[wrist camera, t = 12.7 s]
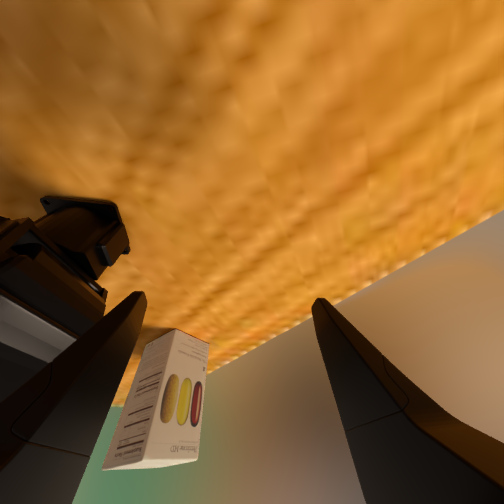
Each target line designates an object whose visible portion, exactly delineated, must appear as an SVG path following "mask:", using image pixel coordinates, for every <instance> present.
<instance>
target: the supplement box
mask: <svg viewBox="0 0 504 504" xmlns="http://www.w3.org/2000/svg"><path fill="white" fill-rule="evenodd" d="M208 351H209V344H208V343H205V342H203V341H201V340H199V339H197V338H195V337H192V336H190V335H188V334H186V333H184V332H182V331H180V330H177V329H174V330H172V331H170V332H168V333H167V334H165V335H163V336H161V337H159V338H157V339H155V340H154V341H152V342H150V343H148V344H146V346H145V349H144V352H143V354H142V357H141V360H140V363H139V366H138V368H137V371H136V374H135V377H134V380H133V382H132V385H131V388H130V391H129V394H128V396H127V399H126V401H125V404H124V407H123V410H122V413H121V416H120V419H119V421H118V424H117V427H116V430H115V433H114V435H113V438H112V441H111V444H110V447H109V449H108V452H107V455H106V458H105V460H104V463H103V466H102V470H112V469H113V470H114V469H141V468H159V467H165V466H171V465H176V464H181V463H186V462H192V461H195V460H197V459H198V452H199V440H200V431H201V430H200V429H201V420H202V410H203V401H204V391H205V381H206V371H207V361H208Z"/></svg>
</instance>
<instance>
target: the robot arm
mask: <svg viewBox="0 0 504 504" xmlns="http://www.w3.org/2000/svg"><path fill="white" fill-rule="evenodd" d="M48 201H49V202H50V203H49V202H48ZM40 202H41V203H42V205H43V207H44V209H45V211H46V212H47V214H46V215H45V216H43V217H41V218H40V219H38V220H36V221H35V222H33V221H32V220H31V219H30V218H29V217H27V218H22V219H16V220H11V219H10V218H5V217H2V216H0V504H72V502H73V499H74V497H75V494H76V492H77V489H78V487H79V484H80V482H81V479H82V477H83V474H84V472H85V469H86V467H87V464H88V462H89V459H90V456H91V454H92V451H93V449H94V446H95V444H96V442H97V439H98V437H99V434H100V431H101V429H102V427H103V424H104V422H105V419H106V417H107V414H108V412H109V409H110V407H111V404H112V402H113V399H114V397H115V394H116V392H117V389H118V387H119V384H120V382H121V379H122V377H123V374H124V372H125V369H126V367H127V364H128V362H129V359H130V357H131V354H132V352H133V349H134V347H135V344H136V342H137V339H138V336H139V333H140V330H141V326H142V322H143V319H144V315H145V311H146V308H147V299H146V296H145V293H144V292H143V291H134V292H132V293H131V294H130V295H129V296H128V297H126V298H125V299H124V300H123V301H122V302H121V303H119V304H118V305H117V306H116V307H115V308H113V309H112V310H111V311H110V312H109V313H108V314H106V315H105V316H103V315H104V311H105V307H106V305H105V302H106V298H107V293H108V291H107V290H106V289H105V288H102V287H101V286H100V285H99V284H97V283H96V282H95V281H94V280H98V278H99V277H100V276H101V274H102V273H103V272H104V270H105V269H106V268H107V266H110V267H111V266H112V265H113V264H114V263H115V262H116V260H117V259H118V258H119V256H120V255H121V254H129V252H130V247H129V239H128V236H127V232H126V229H125V225H124V224H123V223H122V220H121V217H120V213H119V210H118V207H117V206H116V205H115V204H113V203H107V202H98V201H89V200H80V199H71V198H62V197H53V196H44V197H42V198H40ZM110 207H112V208H113V210H112V209H111V208H110ZM125 250H126V251H125ZM312 315H313V321H314V326H315V331H316V336H317V340H318V343H319V347H320V350H321V353H322V357H323V360H324V363H325V366H326V370H327V373H328V377H329V380H330V384H331V387H332V390H333V394H334V397H335V400H336V404H337V407H338V410H339V414H340V417H341V421H342V424H343V427H344V431H345V435H346V438H347V441H348V445H349V448H350V452H351V455H352V458H353V461H354V465H355V468H356V472H357V475H358V479H359V482H360V485H361V489H362V492H363V495H364V498H365V501H366V504H504V443H502V442H500V441H498V440H496V439H494V438H492V437H490V436H488V435H486V434H484V433H482V432H481V431H479V430H476V429H474V428H473V427H470V426H469V425H467V424H465V423H463V422H461V421H460V420H458V419H457V418H455V417H453V416H452V415H451V414H449V413H448V412H447V411H445V410H444V409H443V408H442V407H440V406H439V405H438V404H437V403H436V402H435V401H434V400H432V399H431V398H430V397H429V396H428V395H427V394H426V393H424V392H423V391H422V390H421V389H420V388H419V387H418V386H416V385H415V384H414V383H413V382H412V381H411V380H409V379H408V378H407V377H406V376H405V375H404V374H403V373H402V372H401V371H400V370H398V369H397V368H396V367H395V366H394V365H393V364H392V363H391V362H390V361H389V360H388V359H387V358H386V357H385V356H384V355H382V353H381V352H380V351H379V350H378V349H377V348H376V347H375V346H373V345H372V344H371V343H370V342H369V341H368V340H367V339H366V338H365V337H364V336H363V335H362V334H361V333H360V332H359V331H358V330H357V329H356V328H355V327H354V326H353V325H352V324H351V323H350V322H349V321H348V320H347V319H346V318H345V317H344V316H343V315H342V314H340V312H338V311H337V310H336V309H335V308H334V307H333V306H332V305H331V304H330V303H329V302H328V301H327V300H326V299H325V298H317V299H316V300H315V302H314V304H313V305H312Z"/></svg>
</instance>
